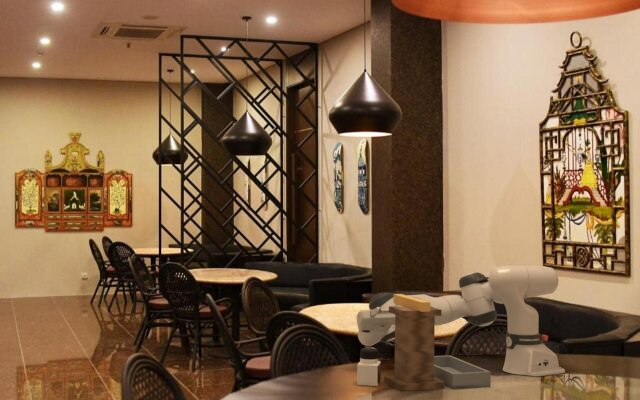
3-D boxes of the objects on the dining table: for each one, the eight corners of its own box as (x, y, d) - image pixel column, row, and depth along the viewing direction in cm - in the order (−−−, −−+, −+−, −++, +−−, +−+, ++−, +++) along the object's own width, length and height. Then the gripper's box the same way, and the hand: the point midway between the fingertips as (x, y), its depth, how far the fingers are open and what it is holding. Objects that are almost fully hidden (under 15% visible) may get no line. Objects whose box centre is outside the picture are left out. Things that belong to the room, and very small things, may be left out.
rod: (401, 302, 288) (401, 294, 288) (430, 311, 265) (430, 302, 265) (393, 302, 287) (393, 294, 287) (422, 311, 264) (422, 302, 264)
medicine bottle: (377, 386, 271) (378, 350, 271) (356, 385, 272) (357, 349, 272) (380, 381, 278) (381, 346, 278) (360, 380, 279) (360, 345, 279)
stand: (426, 379, 283) (427, 304, 283) (444, 388, 269) (445, 310, 269) (384, 381, 278) (384, 306, 278) (400, 391, 264) (401, 311, 264)
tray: (449, 368, 301) (450, 355, 301) (490, 386, 272) (490, 371, 272) (415, 370, 296) (415, 357, 296) (452, 389, 268) (453, 374, 268)
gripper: (406, 329, 304) (419, 315, 293) (355, 331, 298) (366, 317, 287) (402, 314, 307) (416, 299, 296) (352, 315, 301) (363, 301, 290)
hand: (391, 308), depth 291 cm, fingers open, 8 cm apart
